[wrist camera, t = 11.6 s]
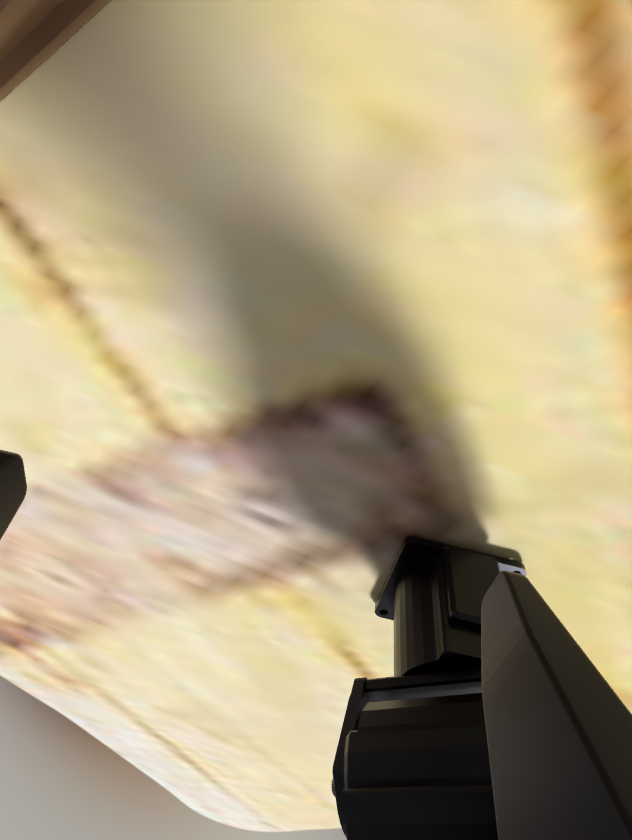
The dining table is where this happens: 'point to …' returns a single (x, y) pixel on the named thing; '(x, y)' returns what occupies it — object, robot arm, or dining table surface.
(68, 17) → the cradle
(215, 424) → the dining table surface
